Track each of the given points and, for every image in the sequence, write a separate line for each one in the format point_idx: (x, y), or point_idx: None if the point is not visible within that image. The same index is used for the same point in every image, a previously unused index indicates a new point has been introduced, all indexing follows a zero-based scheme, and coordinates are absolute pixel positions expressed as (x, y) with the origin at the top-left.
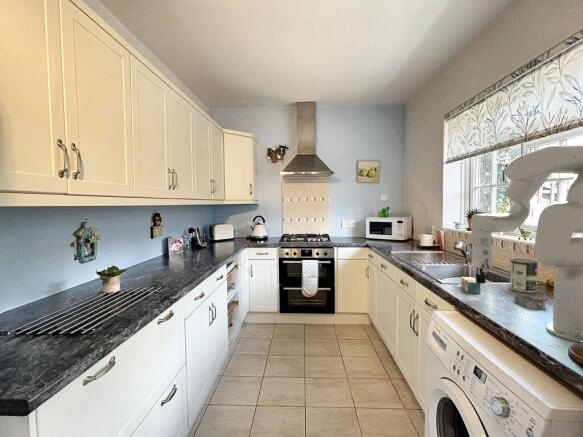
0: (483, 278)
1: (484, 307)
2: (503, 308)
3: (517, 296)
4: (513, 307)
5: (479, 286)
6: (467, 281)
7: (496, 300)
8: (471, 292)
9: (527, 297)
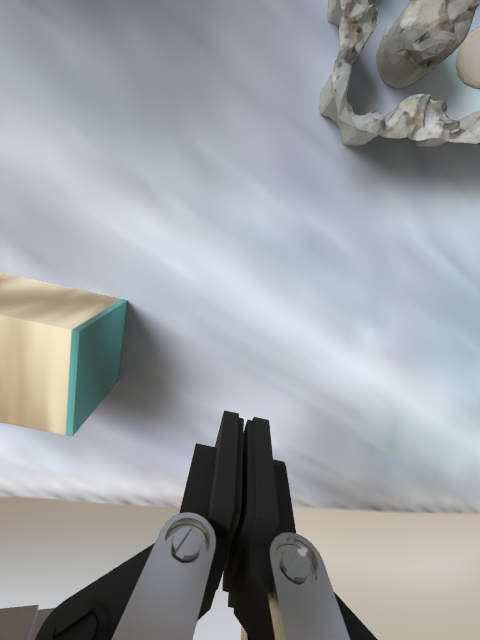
0: (287, 499)
1: (429, 450)
2: (473, 352)
3: (415, 127)
4: (475, 267)
5: (99, 325)
6: (40, 428)
7: (311, 288)
8: (118, 360)
9: (460, 18)
